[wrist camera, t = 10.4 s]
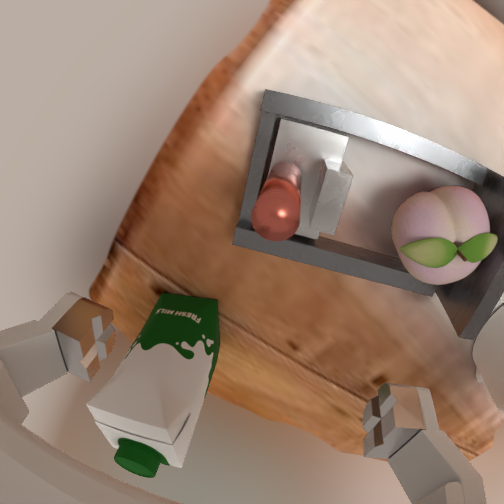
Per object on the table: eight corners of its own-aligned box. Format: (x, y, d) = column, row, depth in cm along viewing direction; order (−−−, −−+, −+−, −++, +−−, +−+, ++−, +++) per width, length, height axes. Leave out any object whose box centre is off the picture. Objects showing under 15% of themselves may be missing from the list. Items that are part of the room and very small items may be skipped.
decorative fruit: (387, 261, 31) (412, 322, 22) (373, 186, 28) (402, 227, 19) (465, 240, 28) (508, 292, 19) (458, 166, 25) (513, 198, 16)
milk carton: (165, 339, 41) (101, 463, 23) (154, 283, 37) (65, 415, 19) (227, 349, 40) (184, 489, 22) (225, 292, 36) (163, 449, 18)
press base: (494, 172, 24) (545, 201, 16) (444, 287, 31) (473, 340, 23) (269, 90, 25) (253, 85, 17) (238, 232, 32) (215, 280, 24)
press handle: (351, 136, 26) (382, 161, 16) (321, 233, 31) (328, 306, 20) (282, 117, 26) (268, 128, 16) (259, 216, 31) (234, 282, 20)
